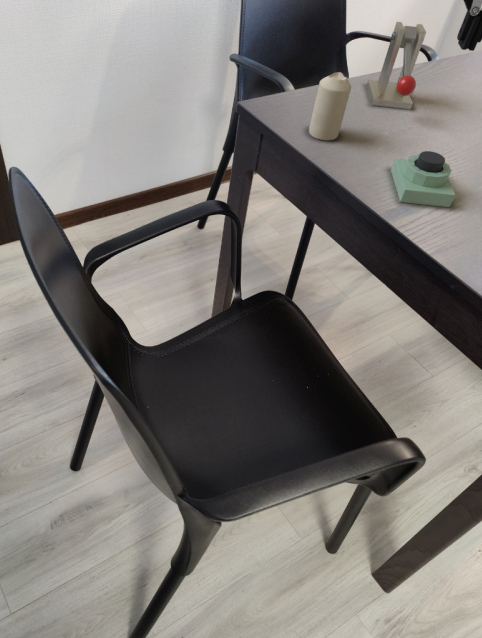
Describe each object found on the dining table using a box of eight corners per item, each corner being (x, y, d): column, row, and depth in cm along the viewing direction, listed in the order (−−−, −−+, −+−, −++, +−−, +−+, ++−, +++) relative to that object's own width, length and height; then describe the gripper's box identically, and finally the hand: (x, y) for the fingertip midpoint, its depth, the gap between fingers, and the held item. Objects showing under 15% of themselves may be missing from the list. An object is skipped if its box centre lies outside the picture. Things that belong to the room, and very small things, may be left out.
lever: (411, 101, 97) (418, 87, 93) (393, 99, 97) (400, 85, 93) (412, 39, 100) (420, 24, 96) (395, 38, 100) (402, 22, 96)
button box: (436, 175, 86) (447, 152, 83) (449, 207, 80) (461, 184, 77) (390, 170, 87) (399, 147, 83) (399, 202, 80) (409, 178, 77)
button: (437, 162, 82) (442, 152, 80) (442, 175, 79) (447, 164, 78) (413, 160, 82) (417, 149, 81) (417, 172, 79) (422, 162, 78)
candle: (313, 124, 96) (327, 66, 88) (341, 131, 95) (357, 73, 87) (304, 135, 93) (317, 76, 85) (333, 143, 91) (349, 84, 84)
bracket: (410, 109, 103) (437, 37, 93) (371, 105, 103) (394, 33, 93) (402, 89, 109) (427, 20, 99) (366, 85, 109) (386, 16, 99)
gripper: (484, -139, 55) (417, 50, 69) (621, -124, 55) (525, 63, 69) (469, -147, 60) (409, 32, 74) (595, -133, 60) (510, 44, 74)
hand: (465, 46), depth 71 cm, fingers closed
